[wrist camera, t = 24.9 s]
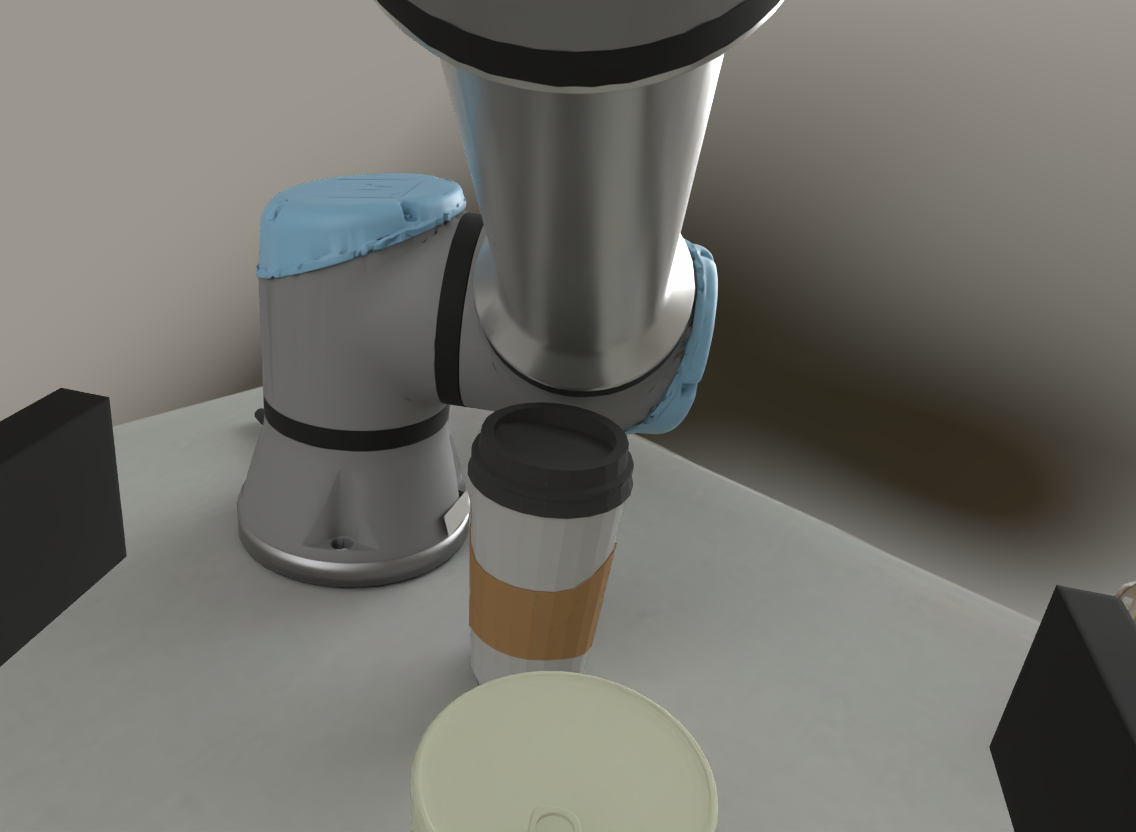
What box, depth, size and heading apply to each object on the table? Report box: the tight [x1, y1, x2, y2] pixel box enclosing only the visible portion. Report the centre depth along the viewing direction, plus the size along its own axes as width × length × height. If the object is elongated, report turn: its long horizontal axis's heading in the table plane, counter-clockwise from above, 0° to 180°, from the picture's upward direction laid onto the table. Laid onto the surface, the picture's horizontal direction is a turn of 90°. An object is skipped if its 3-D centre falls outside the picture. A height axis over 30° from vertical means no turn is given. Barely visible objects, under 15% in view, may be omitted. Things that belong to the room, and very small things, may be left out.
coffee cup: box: [468, 402, 634, 685], centre depth 49 cm, size 8×8×15 cm
